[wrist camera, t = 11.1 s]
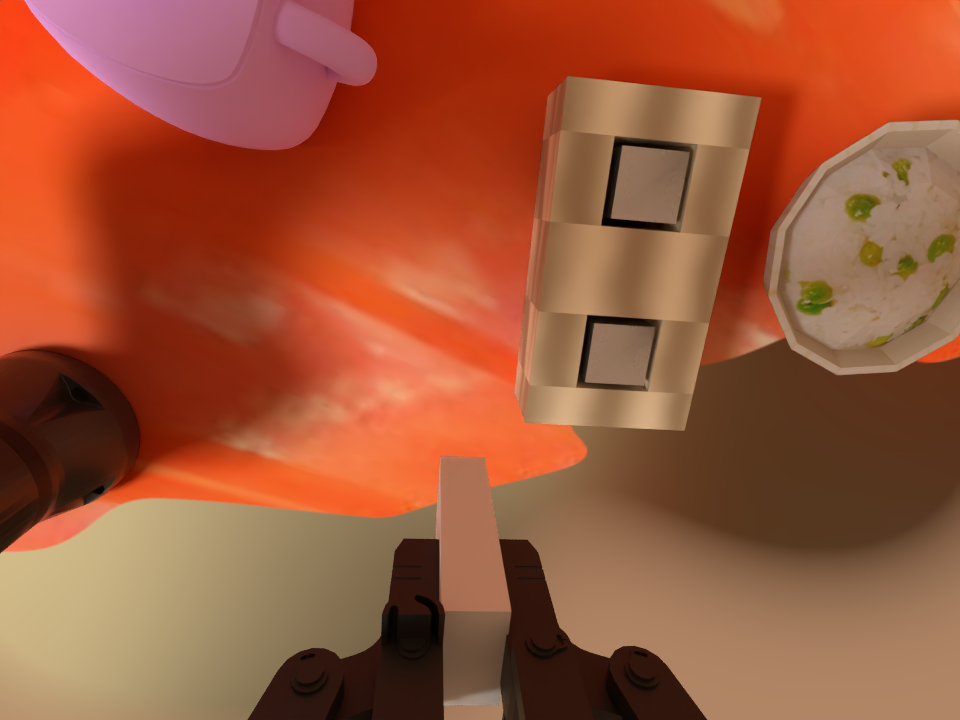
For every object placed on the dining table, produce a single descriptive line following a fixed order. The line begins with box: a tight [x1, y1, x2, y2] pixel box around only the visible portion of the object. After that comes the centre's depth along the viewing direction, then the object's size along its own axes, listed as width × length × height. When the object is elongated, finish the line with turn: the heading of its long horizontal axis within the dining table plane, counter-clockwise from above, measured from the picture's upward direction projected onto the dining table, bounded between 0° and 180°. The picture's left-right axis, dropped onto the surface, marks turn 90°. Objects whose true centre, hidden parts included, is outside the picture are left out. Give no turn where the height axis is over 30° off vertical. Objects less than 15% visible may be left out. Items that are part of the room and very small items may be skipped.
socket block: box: [514, 76, 762, 431], centre depth 41 cm, size 14×26×7 cm, turn 175°
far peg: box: [578, 315, 655, 386], centre depth 43 cm, size 5×5×6 cm
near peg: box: [602, 145, 690, 224], centre depth 39 cm, size 5×5×6 cm
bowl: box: [763, 120, 960, 375], centre depth 41 cm, size 19×19×10 cm
